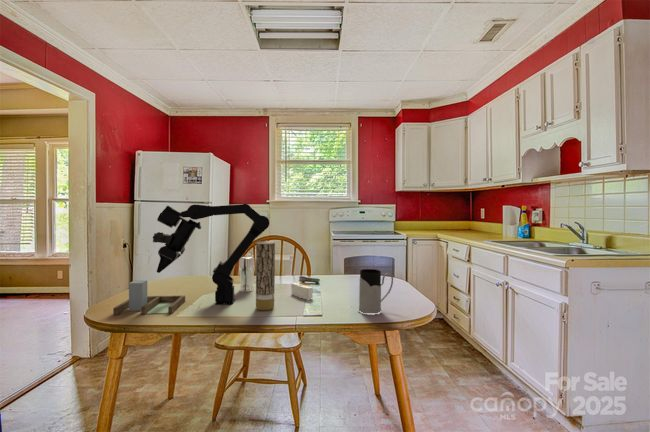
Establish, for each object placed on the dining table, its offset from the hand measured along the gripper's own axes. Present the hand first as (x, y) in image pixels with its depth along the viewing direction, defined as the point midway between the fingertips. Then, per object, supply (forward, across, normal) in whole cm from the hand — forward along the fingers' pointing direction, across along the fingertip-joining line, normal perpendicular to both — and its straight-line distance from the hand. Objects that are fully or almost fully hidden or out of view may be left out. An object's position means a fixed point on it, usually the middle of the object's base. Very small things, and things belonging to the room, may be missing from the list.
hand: (160, 270), depth 124 cm
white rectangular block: (-14, -3, +55) cm, 57 cm away
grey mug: (-26, +22, +75) cm, 82 cm away
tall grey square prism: (+15, +2, 0) cm, 16 cm away
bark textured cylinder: (-7, +11, +40) cm, 42 cm away
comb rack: (+13, +3, +4) cm, 14 cm away
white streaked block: (-4, -18, +35) cm, 39 cm away
